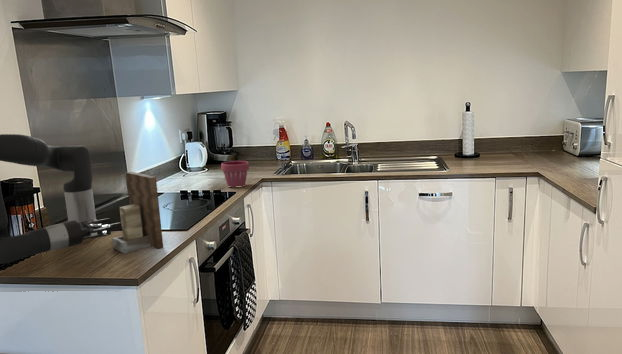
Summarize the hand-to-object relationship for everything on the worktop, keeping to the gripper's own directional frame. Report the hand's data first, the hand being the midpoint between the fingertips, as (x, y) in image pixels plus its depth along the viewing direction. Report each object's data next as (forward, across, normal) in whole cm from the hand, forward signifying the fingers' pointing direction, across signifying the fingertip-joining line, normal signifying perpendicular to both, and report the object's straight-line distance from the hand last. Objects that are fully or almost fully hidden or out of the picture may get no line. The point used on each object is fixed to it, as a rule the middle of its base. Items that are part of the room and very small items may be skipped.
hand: (115, 223), depth 156 cm
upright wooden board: (+5, 0, +9) cm, 11 cm away
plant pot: (+86, +51, +10) cm, 100 cm away
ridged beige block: (+5, 0, +10) cm, 11 cm away
